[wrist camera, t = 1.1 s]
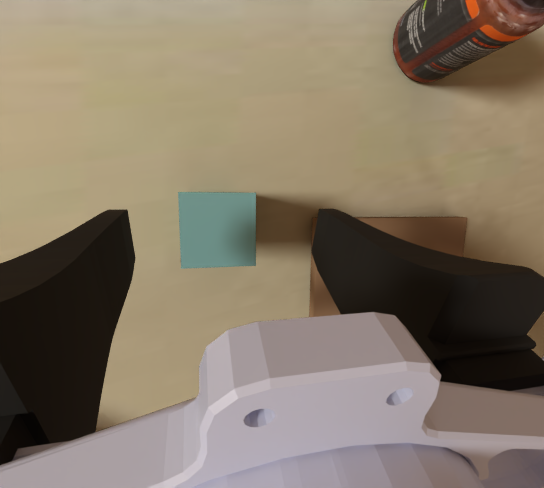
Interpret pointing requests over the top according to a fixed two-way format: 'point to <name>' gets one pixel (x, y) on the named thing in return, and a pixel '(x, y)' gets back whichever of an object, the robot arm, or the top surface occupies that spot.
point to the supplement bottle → (459, 33)
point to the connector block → (217, 229)
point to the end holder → (417, 230)
